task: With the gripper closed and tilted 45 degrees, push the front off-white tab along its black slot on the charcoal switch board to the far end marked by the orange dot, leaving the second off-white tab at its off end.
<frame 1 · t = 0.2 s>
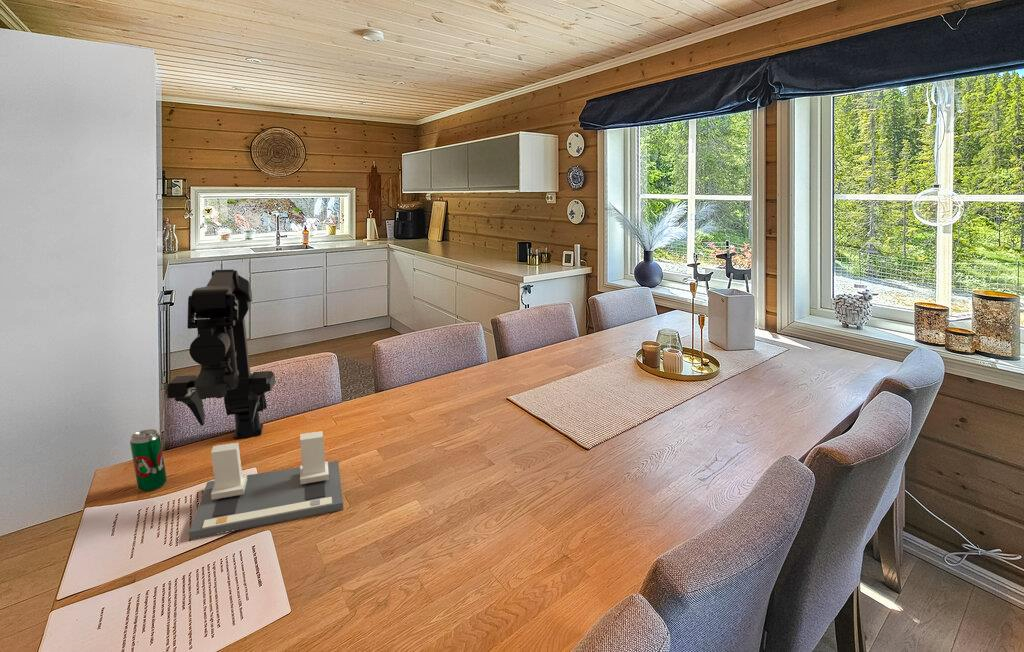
hand: (227, 422, 103), 14 cm above the table, tool pointing down, fingers open, 9 cm apart
tab front: (227, 468, 99), point 7 cm above the table, slide at 0.0 cm
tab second: (313, 455, 105), point 7 cm above the table, slide at 0.0 cm
soda can: (153, 486, 105), on the table
switch board: (273, 498, 101), on the table
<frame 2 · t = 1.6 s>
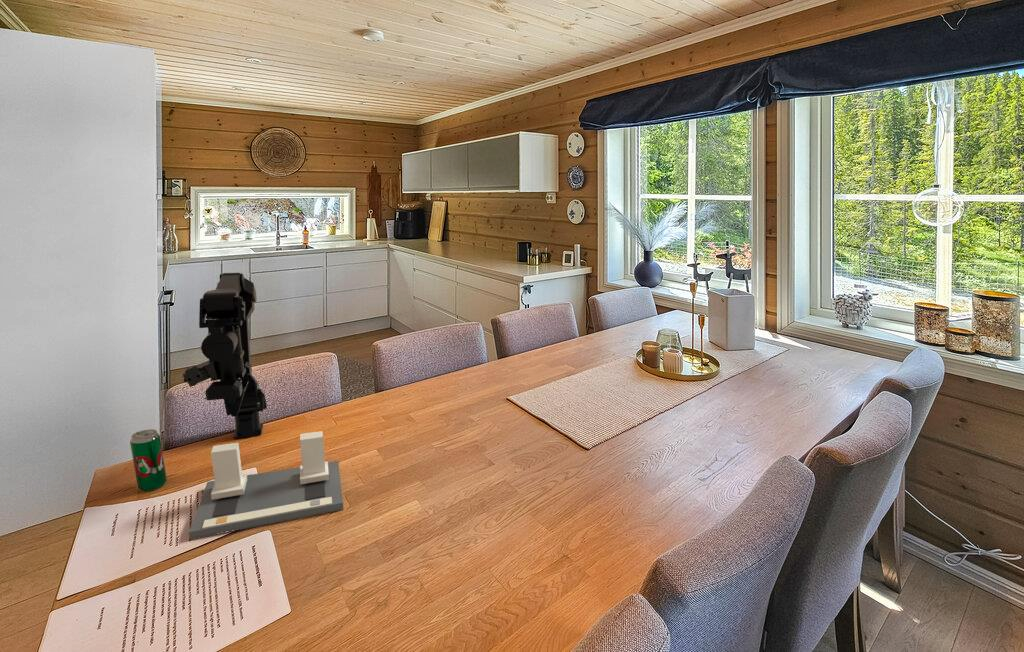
hand: (234, 415, 112), 12 cm above the table, tool pointing down, fingers closed
nothing on the table moved.
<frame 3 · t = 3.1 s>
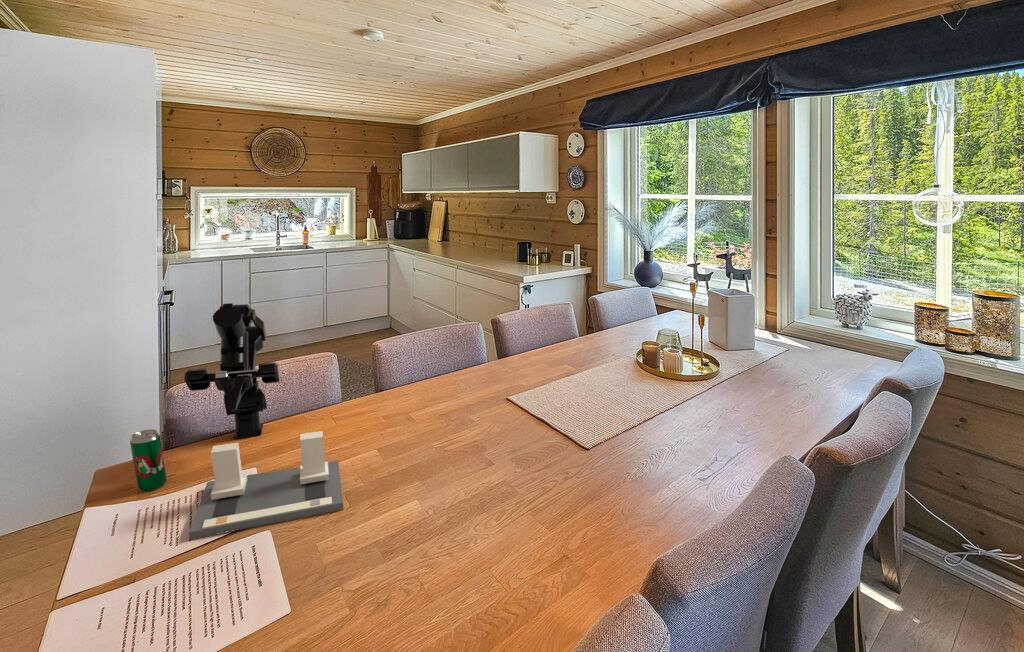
hand: (233, 410, 111), 14 cm above the table, tool tilted 45°, fingers closed
nothing on the table moved.
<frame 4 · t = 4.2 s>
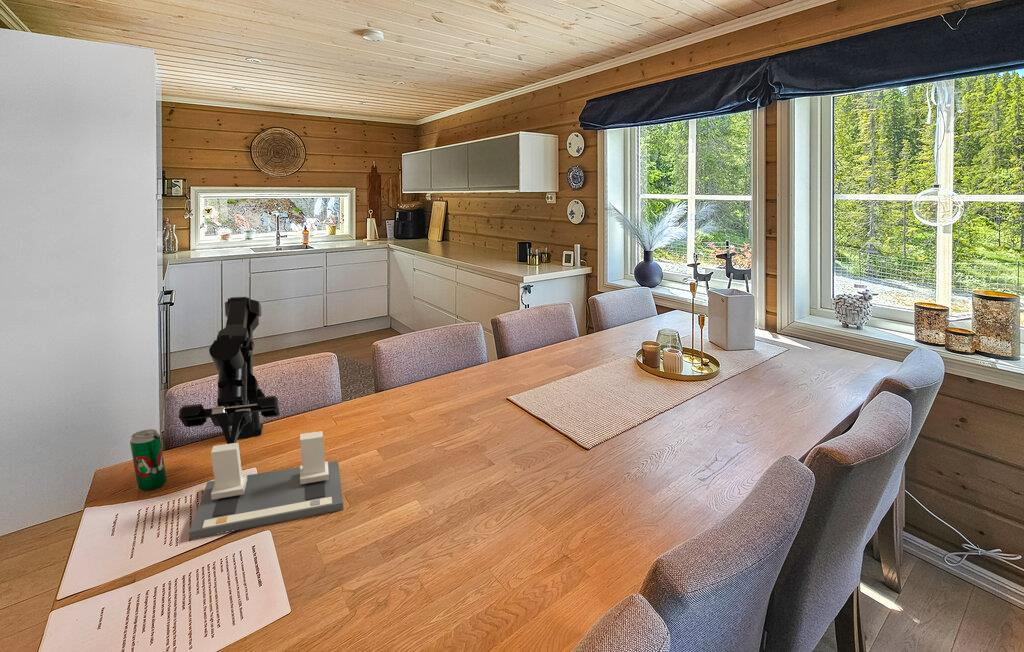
hand: (231, 448, 105), 8 cm above the table, tool tilted 45°, fingers closed
nothing on the table moved.
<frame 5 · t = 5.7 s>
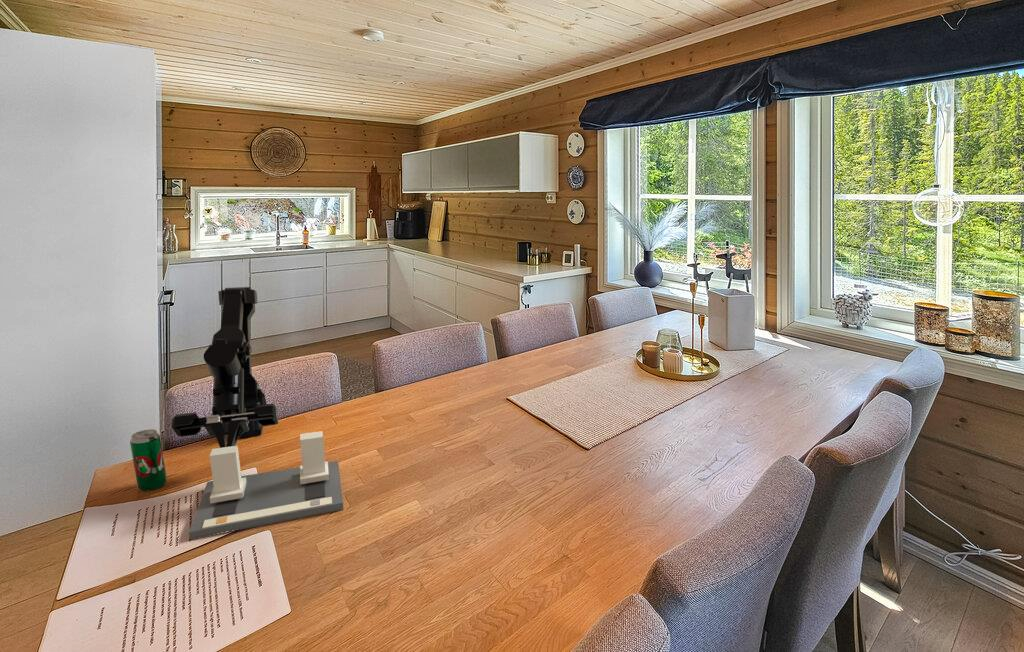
hand: (226, 459, 99), 9 cm above the table, tool tilted 45°, fingers closed, pressing on tab front
tab front: (226, 471, 98), point 7 cm above the table, slide at 1.4 cm, touching gripper
everything else where it was.
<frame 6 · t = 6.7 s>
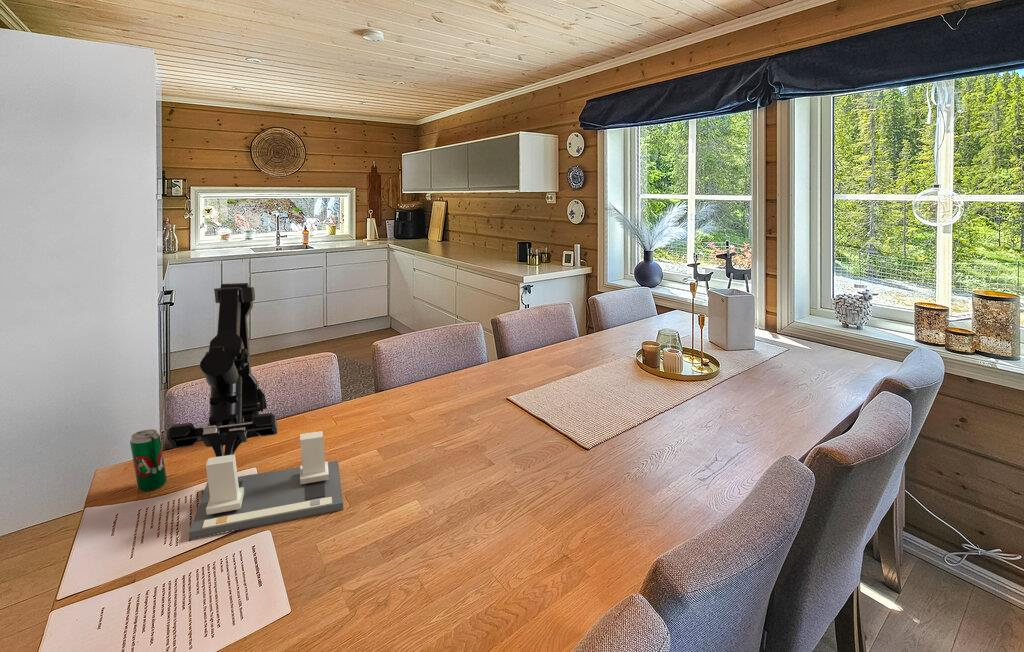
hand: (224, 471, 96), 8 cm above the table, tool tilted 45°, fingers closed, pressing on tab front
tab front: (223, 481, 94), point 7 cm above the table, slide at 5.3 cm, touching gripper
everything else where it was.
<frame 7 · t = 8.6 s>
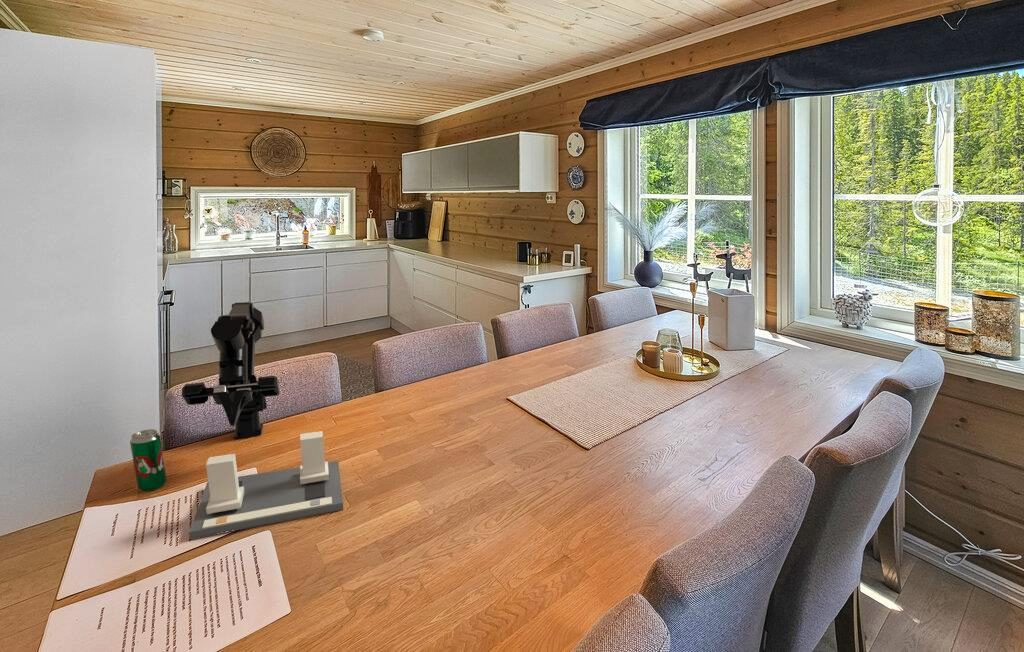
hand: (232, 425, 108), 11 cm above the table, tool tilted 45°, fingers closed
tab front: (223, 481, 95), point 7 cm above the table, slide at 5.0 cm
everything else where it was.
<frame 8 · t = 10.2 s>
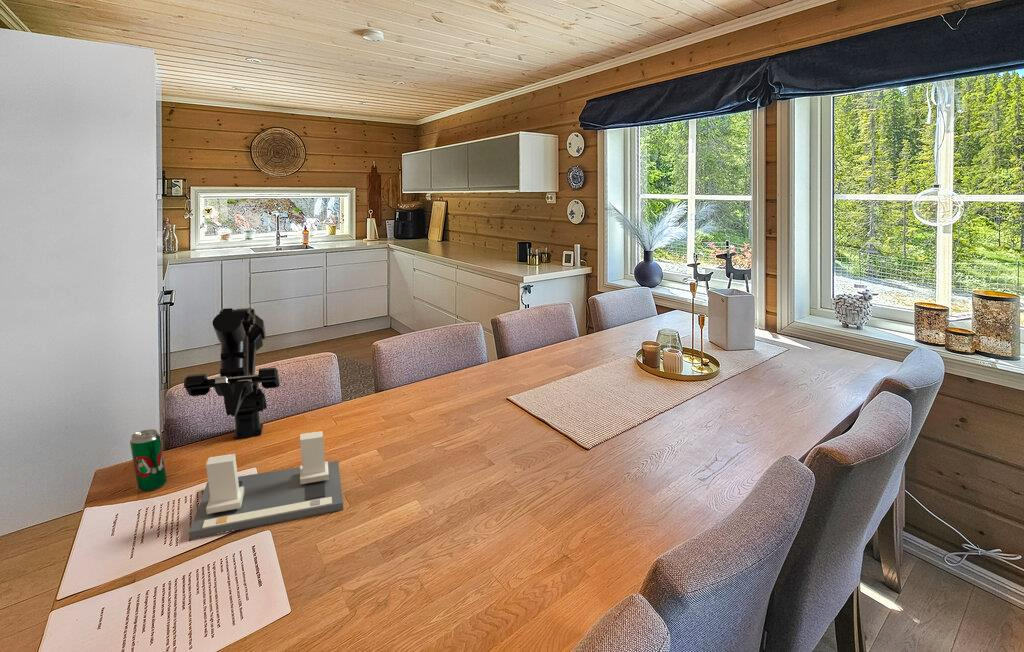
hand: (233, 415, 110), 13 cm above the table, tool tilted 45°, fingers closed
nothing on the table moved.
at the end: tab front slide at 5.0 cm; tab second slide at 0.0 cm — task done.
